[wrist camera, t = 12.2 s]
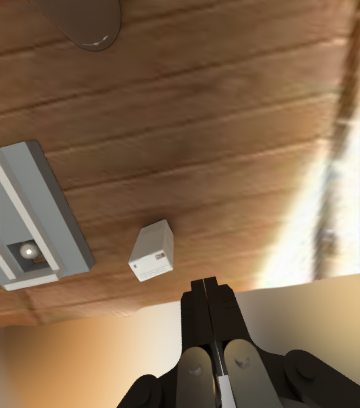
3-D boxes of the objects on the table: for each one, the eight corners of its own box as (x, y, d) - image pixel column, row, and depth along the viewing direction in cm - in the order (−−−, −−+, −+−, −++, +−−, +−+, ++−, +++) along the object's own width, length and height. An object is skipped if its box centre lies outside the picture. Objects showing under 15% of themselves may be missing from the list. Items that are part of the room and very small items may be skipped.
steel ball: (31, 241, 41) (13, 242, 37) (47, 236, 41) (31, 237, 37) (33, 259, 40) (15, 262, 36) (50, 255, 40) (33, 258, 36)
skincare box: (149, 243, 41) (139, 285, 30) (140, 227, 40) (125, 264, 28) (174, 233, 40) (174, 272, 29) (166, 216, 39) (162, 249, 27)
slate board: (-63, 167, 34) (-110, 173, 29) (37, 141, 33) (9, 142, 27) (15, 279, 44) (-9, 300, 38) (95, 262, 42) (83, 281, 37)
